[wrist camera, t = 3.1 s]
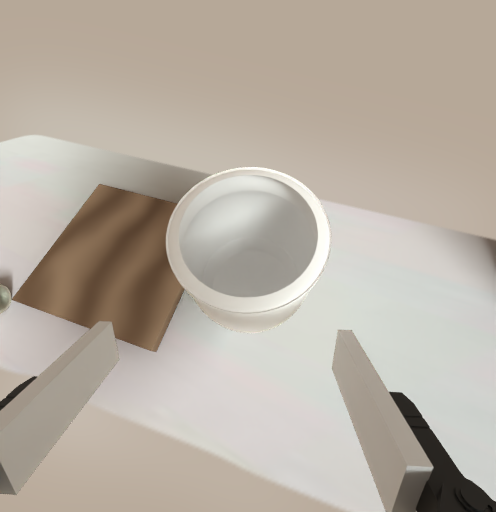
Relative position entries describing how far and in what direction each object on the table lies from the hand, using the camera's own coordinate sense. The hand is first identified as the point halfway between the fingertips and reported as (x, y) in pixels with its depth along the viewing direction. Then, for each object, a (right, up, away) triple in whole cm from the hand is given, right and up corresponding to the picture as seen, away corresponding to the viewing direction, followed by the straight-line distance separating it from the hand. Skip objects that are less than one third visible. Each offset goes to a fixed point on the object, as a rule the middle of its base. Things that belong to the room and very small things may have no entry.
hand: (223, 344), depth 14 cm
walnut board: (-14, +5, +17) cm, 23 cm away
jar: (+2, 0, +14) cm, 15 cm away
